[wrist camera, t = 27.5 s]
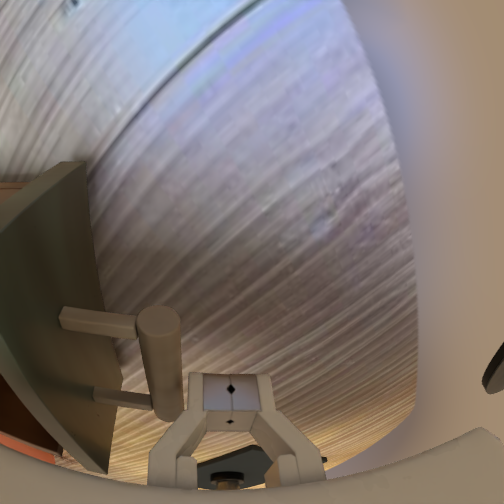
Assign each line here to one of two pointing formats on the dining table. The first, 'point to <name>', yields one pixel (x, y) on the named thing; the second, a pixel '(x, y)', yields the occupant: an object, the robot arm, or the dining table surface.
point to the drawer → (70, 327)
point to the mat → (238, 467)
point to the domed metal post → (227, 480)
